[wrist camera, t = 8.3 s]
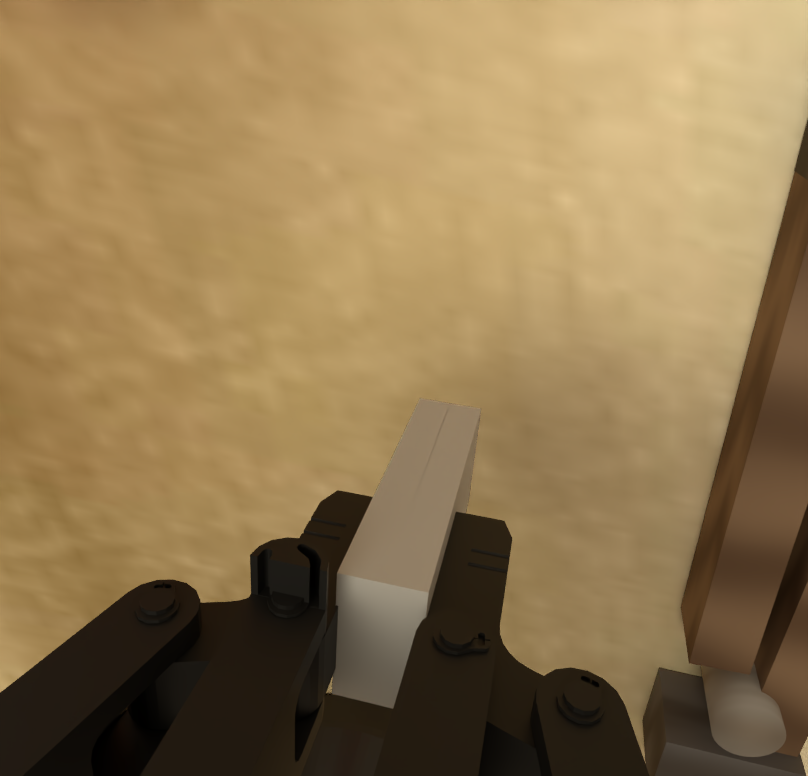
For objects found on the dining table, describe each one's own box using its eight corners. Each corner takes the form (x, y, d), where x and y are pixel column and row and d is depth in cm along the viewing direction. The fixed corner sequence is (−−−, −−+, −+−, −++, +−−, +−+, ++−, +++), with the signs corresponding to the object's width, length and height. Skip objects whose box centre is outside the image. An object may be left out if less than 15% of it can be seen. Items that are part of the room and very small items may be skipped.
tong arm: (736, 616, 34) (750, 675, 31) (680, 607, 34) (688, 663, 31) (913, 48, 23) (962, 50, 20) (827, 45, 23) (862, 47, 20)
